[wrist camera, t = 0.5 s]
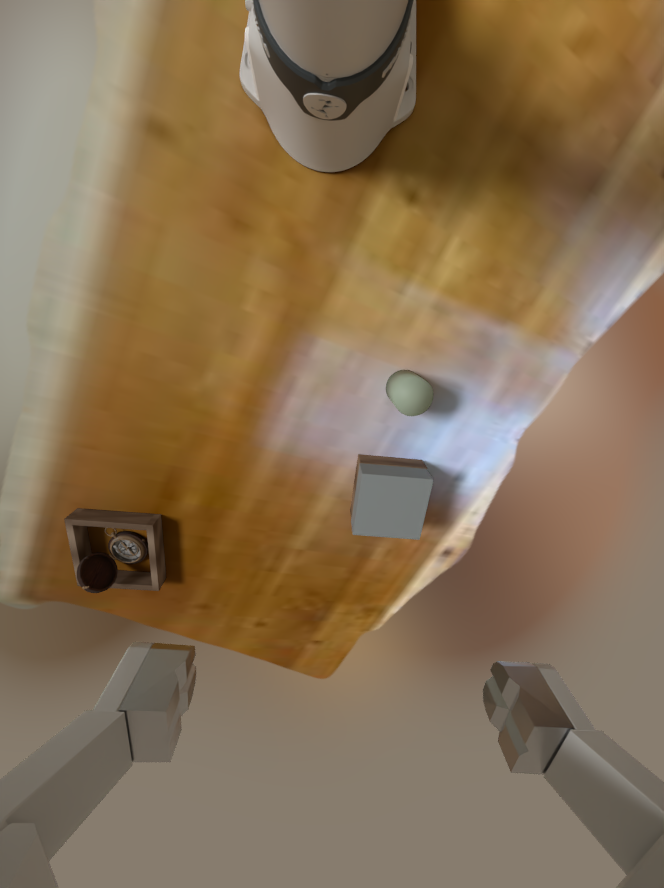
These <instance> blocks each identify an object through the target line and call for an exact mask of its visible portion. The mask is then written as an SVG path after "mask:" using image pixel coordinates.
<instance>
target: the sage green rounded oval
mask: <svg viewBox="0 0 664 888" xmlns="http://www.w3.org/2000/svg"><path fill="white" fill-rule="evenodd" d="M386 393H387V395H388V397H389V399H390V400H391V401H392V403H393V404H394V405H395V407H396V408H397V409H398V410H399V411H400V412H401V413H402V414H404V415H407V416H417V415H420V414H422V413H424V412H425V411H426V410H427V409H428V408H429V407H430V405H431V403H432V400H433V390H432V387H431V386H430V384H429V383H428V382H427V381H425V380H424V379H422V378H421V377H420V376H418V375H417V374H415V373H414V372H412V371H409V370H400V371H397V372H395V373H394V374H392V375H391V376H390V378H389V379H388V381H387V384H386Z"/></svg>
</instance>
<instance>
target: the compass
mask: <svg viewBox="0 0 664 888" xmlns="http://www.w3.org/2000/svg"><path fill="white" fill-rule="evenodd" d="M106 529H107V527H106V528H105V533H106ZM113 529H114V530H115V531H116V529H115V528H113ZM116 533H117V531H116ZM116 533H114V532H113V533H112V534H111V535H109V534H107V533H106V534H107V535H108V536H113V537H112V538H111V540H110V541H109V544H108V545H109V551H110V553H111V554H112V555H111V554H110V555H108V554H105V553H99V552H97V553H93V554H91V555H89V556H87V557H85V558H84V559H83V560H82V561H81V562H80V564H79V565H78V568H77V572H76V573H77V580H78V583H79V584H80V586H81V587H82V588H83V589H84V590H86V591H87V592H91V593H99V592H102V591H105V590H107V589H108V588H110V587H111V586H112V585H113V584H114V583H115V580H116V578H117V573H118V571H117V565H116V563H115V561H114V560H116V559H117V560H119V561H121V562H123V563H127V564H134V563H138V562H140V561H142V560H143V559H144V558H145V557H146V555H147V553H148V545H147V543H146V541H145V540H144V539H143V538H142V537H141V536H139V535H138V534H136V533H132V532H119V533H117V534H116ZM115 558H116V559H115Z"/></svg>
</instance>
